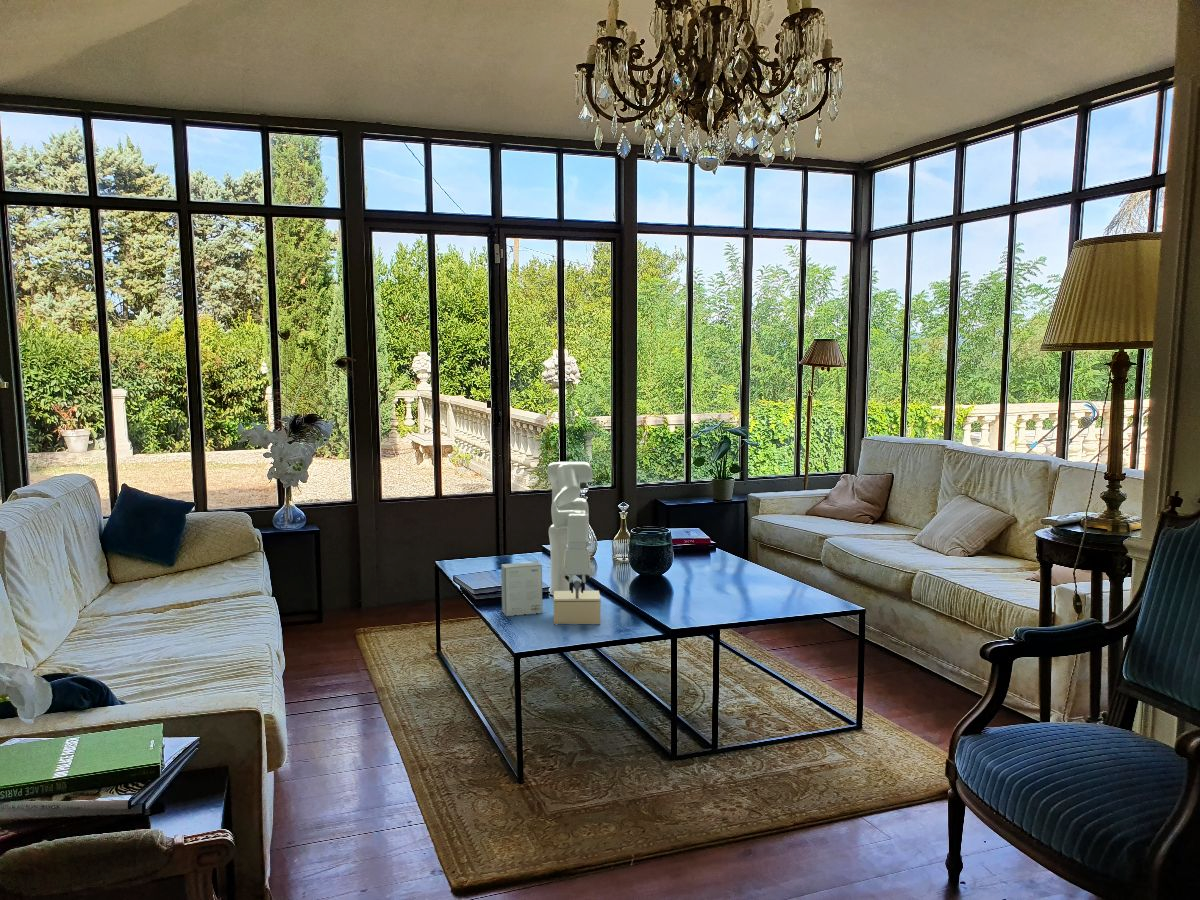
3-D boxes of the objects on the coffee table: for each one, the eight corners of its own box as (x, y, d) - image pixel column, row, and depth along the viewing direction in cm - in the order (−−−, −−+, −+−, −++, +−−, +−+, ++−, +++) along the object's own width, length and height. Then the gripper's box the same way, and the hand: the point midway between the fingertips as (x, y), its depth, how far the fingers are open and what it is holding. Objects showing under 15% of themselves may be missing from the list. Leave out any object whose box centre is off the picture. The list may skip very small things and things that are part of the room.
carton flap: (554, 592, 339) (554, 574, 338) (599, 592, 340) (599, 573, 339) (553, 601, 325) (553, 581, 324) (600, 600, 325) (600, 581, 325)
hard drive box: (538, 608, 349) (538, 561, 347) (543, 613, 342) (542, 565, 340) (501, 611, 344) (500, 563, 342) (505, 616, 337) (504, 567, 335)
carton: (554, 615, 339) (554, 593, 339) (598, 614, 340) (599, 592, 340) (553, 625, 326) (553, 602, 325) (600, 624, 326) (600, 601, 326)
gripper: (598, 543, 329) (598, 589, 331) (555, 543, 329) (555, 590, 330) (598, 547, 322) (598, 594, 323) (555, 547, 321) (555, 594, 322)
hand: (577, 591), depth 327 cm, fingers closed on carton flap, 3 cm apart
